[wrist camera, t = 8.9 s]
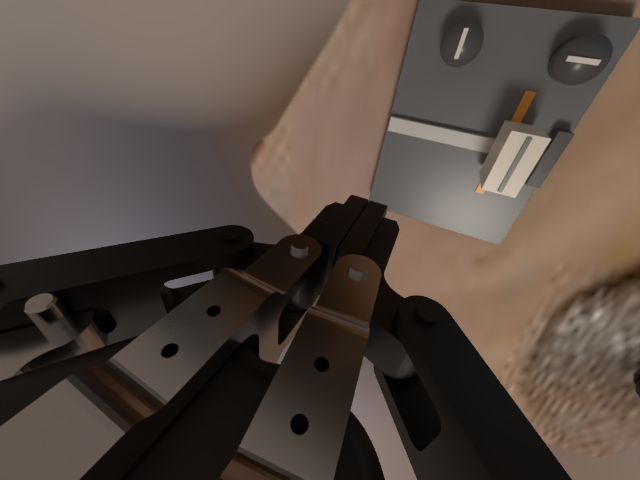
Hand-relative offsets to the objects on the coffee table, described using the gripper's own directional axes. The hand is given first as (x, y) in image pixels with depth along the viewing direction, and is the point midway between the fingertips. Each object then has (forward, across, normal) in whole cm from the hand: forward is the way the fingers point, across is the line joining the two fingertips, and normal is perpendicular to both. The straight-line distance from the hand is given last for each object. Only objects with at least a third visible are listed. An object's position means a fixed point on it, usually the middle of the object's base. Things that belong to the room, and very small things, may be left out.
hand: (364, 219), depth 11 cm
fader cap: (+17, -7, 0) cm, 19 cm away
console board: (+20, -4, 0) cm, 21 cm away
